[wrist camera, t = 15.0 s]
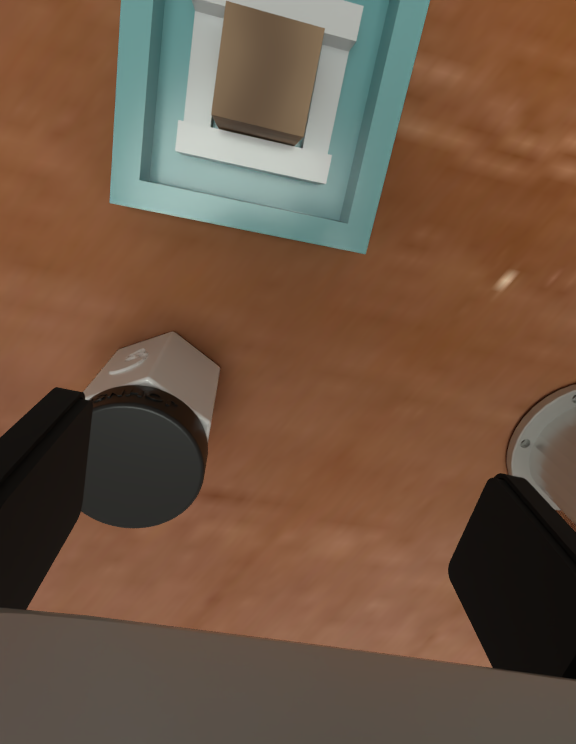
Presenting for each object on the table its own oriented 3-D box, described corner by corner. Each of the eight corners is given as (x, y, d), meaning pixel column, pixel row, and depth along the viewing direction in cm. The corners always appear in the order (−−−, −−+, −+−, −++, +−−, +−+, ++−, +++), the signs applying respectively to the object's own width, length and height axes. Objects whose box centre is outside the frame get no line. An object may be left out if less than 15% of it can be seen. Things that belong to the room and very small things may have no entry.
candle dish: (417, -22, 28) (447, -58, 24) (352, 246, 33) (367, 255, 29) (147, -101, 25) (127, -158, 21) (126, 201, 31) (107, 203, 27)
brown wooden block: (305, 70, 28) (324, 28, 21) (290, 149, 30) (303, 137, 22) (232, 51, 28) (226, 0, 20) (221, 133, 29) (211, 114, 22)
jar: (200, 318, 34) (176, 379, 23) (237, 410, 38) (232, 503, 26) (89, 355, 35) (14, 433, 24) (135, 443, 38) (87, 548, 27)
